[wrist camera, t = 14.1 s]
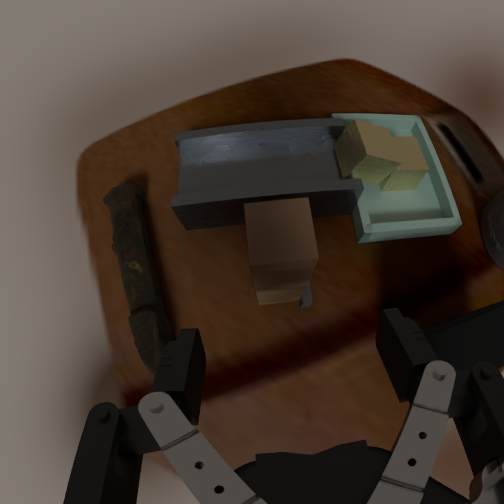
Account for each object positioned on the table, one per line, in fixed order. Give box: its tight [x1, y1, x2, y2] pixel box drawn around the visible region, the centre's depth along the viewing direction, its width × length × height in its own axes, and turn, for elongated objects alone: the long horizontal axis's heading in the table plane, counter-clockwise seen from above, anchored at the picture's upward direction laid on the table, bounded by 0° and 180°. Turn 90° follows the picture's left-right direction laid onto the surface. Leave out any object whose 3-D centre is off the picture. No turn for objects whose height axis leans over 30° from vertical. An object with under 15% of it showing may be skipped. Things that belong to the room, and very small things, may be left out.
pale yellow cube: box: [334, 119, 402, 185], centre depth 26 cm, size 4×4×4 cm
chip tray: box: [331, 114, 462, 243], centre depth 29 cm, size 11×14×2 cm
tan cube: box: [379, 136, 429, 192], centre depth 28 cm, size 4×4×4 cm
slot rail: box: [171, 118, 364, 230], centre depth 29 cm, size 16×8×5 cm, turn 95°
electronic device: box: [421, 300, 504, 370], centre depth 20 cm, size 4×10×10 cm, turn 101°
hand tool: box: [103, 183, 174, 376], centre depth 26 cm, size 19×4×5 cm, turn 17°
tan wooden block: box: [244, 197, 319, 308], centre depth 22 cm, size 4×5×12 cm
